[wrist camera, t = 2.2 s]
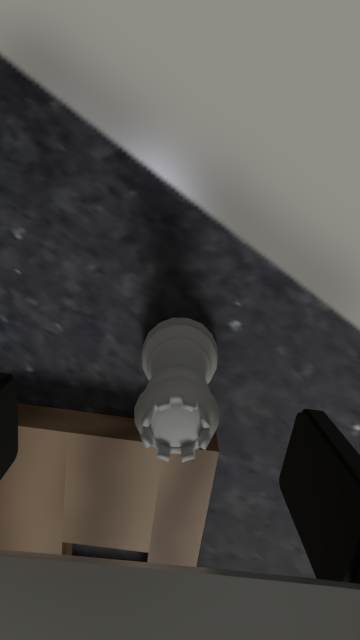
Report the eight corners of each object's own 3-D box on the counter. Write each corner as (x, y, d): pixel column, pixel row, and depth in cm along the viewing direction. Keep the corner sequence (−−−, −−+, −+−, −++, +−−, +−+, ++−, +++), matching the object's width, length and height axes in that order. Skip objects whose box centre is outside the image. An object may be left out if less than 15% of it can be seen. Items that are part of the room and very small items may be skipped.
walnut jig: (215, 428, 20) (218, 451, 17) (178, 622, 24) (177, 659, 22) (-64, 392, 19) (-95, 411, 17) (-48, 595, 24) (-70, 630, 22)
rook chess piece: (136, 321, 18) (98, 384, 10) (210, 309, 18) (230, 363, 10) (151, 389, 19) (127, 492, 11) (222, 378, 19) (247, 476, 11)
